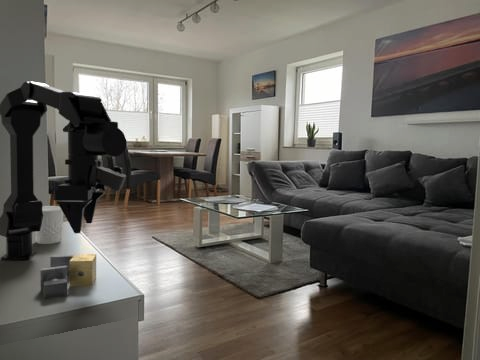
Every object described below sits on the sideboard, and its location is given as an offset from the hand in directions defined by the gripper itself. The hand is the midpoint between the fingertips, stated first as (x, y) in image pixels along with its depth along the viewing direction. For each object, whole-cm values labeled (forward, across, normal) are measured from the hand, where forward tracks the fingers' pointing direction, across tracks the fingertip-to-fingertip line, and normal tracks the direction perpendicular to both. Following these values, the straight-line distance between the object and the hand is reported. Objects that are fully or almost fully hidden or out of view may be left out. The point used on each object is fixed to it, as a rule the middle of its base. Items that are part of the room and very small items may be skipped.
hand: (83, 227), depth 77 cm
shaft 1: (+12, -5, +4) cm, 14 cm away
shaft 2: (+12, +7, +6) cm, 15 cm away
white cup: (+12, +33, +18) cm, 39 cm away
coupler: (+12, +1, 0) cm, 12 cm away
